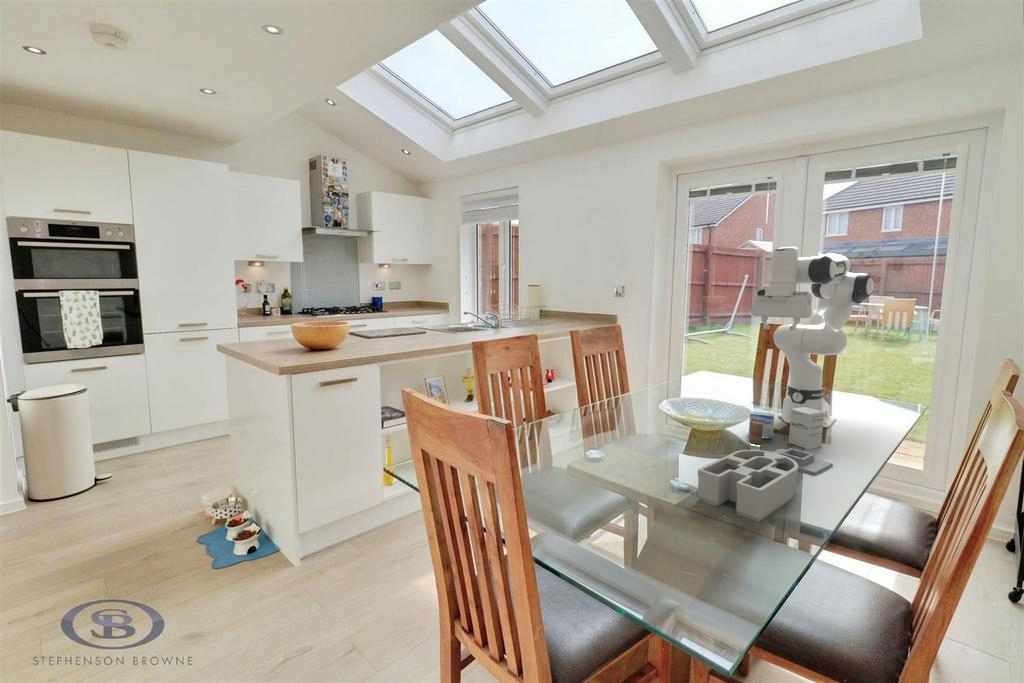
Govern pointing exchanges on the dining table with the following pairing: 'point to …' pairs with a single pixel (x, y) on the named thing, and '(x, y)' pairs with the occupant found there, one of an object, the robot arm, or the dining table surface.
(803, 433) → the supplement box
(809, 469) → the hub plate
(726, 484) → the grey compartment organizer
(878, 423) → the dining table surface
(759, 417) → the medicine box
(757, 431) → the knob
